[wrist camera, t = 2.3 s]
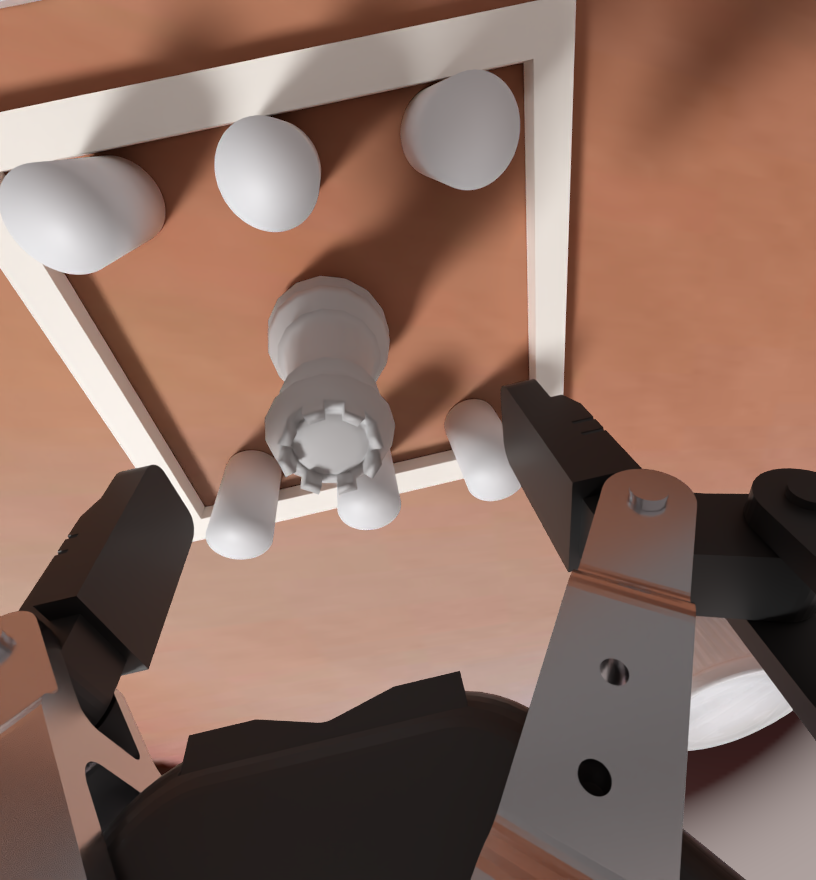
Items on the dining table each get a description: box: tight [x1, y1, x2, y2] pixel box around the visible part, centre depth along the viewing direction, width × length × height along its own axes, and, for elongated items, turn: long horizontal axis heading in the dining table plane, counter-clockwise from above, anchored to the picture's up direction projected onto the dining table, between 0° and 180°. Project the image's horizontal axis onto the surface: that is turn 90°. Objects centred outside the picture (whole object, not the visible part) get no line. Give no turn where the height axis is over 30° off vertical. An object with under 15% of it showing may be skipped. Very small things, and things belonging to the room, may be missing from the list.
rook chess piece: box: [265, 276, 395, 495], centre depth 14 cm, size 4×4×8 cm
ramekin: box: [688, 616, 793, 751], centre depth 33 cm, size 11×11×5 cm
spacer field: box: [0, 0, 576, 559], centre depth 16 cm, size 18×16×4 cm
